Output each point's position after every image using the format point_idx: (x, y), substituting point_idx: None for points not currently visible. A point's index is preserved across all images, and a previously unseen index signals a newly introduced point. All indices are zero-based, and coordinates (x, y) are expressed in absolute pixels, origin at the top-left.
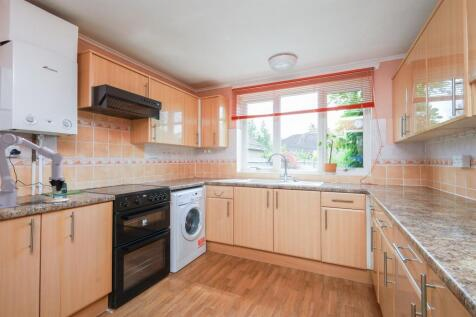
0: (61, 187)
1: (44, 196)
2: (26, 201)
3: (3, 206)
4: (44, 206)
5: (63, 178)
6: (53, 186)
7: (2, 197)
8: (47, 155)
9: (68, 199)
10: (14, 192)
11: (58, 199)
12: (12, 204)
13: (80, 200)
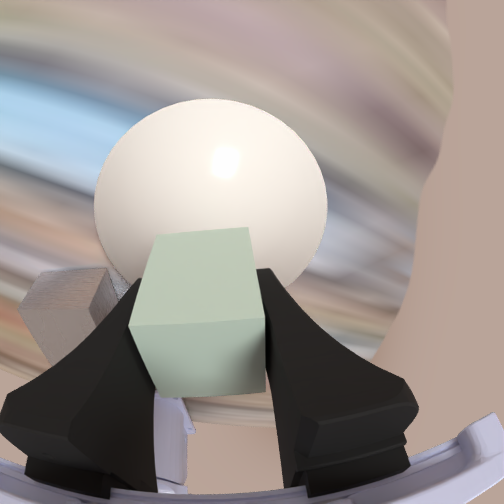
0: (297, 306)
1: (93, 309)
2: (4, 317)
3: (184, 429)
4: (348, 336)
5: (494, 466)
6: (199, 396)
7: (183, 473)
8: None
9: (292, 130)
10: (174, 479)
11: (190, 199)
12: (181, 418)
13: (380, 53)
